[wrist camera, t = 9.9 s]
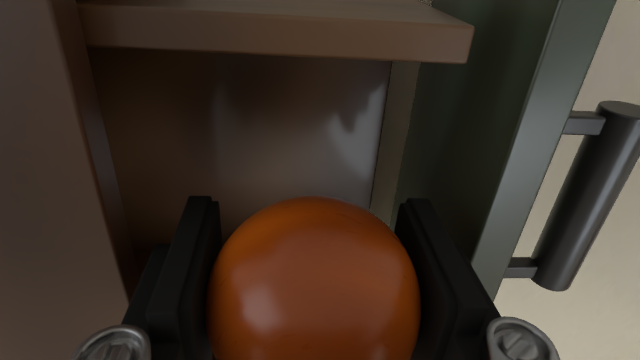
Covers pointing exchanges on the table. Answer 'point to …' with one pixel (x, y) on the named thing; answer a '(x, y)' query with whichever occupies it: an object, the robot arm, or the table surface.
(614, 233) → the table surface
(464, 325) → the robot arm
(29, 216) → the cabinet
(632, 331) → the table surface
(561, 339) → the table surface
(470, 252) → the drawer
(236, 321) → the ball
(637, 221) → the table surface
